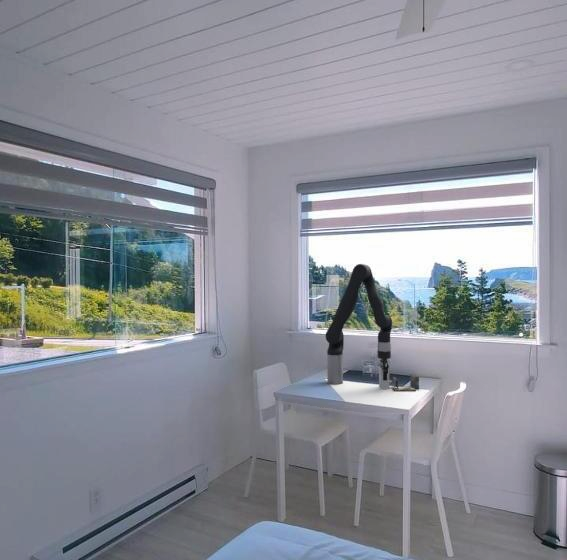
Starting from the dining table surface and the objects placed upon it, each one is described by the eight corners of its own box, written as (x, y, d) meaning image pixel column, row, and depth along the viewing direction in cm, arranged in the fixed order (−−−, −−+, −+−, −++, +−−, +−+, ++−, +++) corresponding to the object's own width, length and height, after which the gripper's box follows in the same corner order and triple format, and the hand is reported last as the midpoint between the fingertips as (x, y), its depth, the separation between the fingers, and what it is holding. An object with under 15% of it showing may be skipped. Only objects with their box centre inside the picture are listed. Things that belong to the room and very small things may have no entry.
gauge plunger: (397, 388, 271) (397, 381, 271) (393, 383, 283) (393, 376, 283) (399, 388, 271) (399, 381, 271) (395, 383, 283) (395, 376, 283)
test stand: (393, 391, 270) (393, 378, 270) (389, 385, 283) (389, 374, 283) (421, 391, 269) (421, 378, 269) (415, 385, 282) (415, 373, 282)
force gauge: (380, 388, 277) (380, 365, 276) (379, 386, 282) (379, 364, 281) (392, 388, 276) (392, 365, 276) (391, 386, 281) (391, 364, 281)
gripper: (375, 347, 286) (375, 376, 286) (379, 351, 272) (379, 382, 272) (388, 347, 286) (388, 376, 286) (393, 351, 271) (393, 382, 272)
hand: (384, 379), depth 279 cm, fingers closed on force gauge, 5 cm apart
